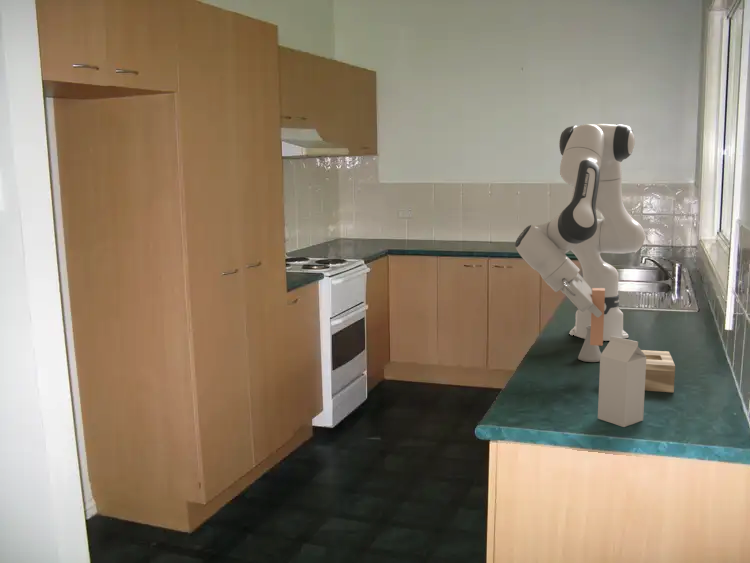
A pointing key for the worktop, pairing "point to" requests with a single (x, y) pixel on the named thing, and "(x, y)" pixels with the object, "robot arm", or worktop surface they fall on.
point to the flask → (589, 349)
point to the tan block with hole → (659, 371)
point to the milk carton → (622, 382)
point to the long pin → (597, 322)
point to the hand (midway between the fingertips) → (600, 313)
